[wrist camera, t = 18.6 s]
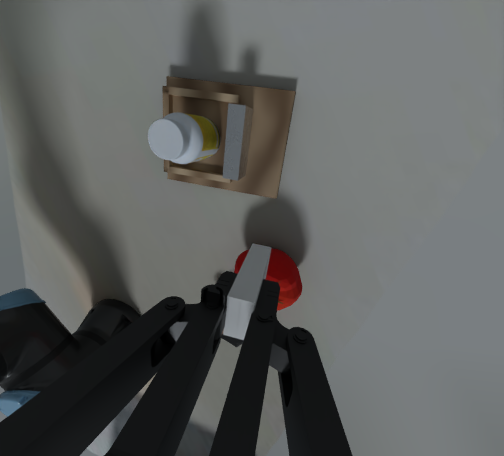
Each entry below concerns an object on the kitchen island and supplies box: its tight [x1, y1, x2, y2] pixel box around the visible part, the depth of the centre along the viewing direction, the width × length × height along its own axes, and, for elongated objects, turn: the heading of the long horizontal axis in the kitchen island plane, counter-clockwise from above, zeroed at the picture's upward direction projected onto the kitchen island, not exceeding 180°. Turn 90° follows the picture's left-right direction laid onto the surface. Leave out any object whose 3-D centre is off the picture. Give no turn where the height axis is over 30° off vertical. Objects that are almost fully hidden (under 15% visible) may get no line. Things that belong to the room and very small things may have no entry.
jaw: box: [222, 103, 253, 181], centre depth 35 cm, size 2×10×5 cm, turn 173°
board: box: [163, 76, 296, 199], centre depth 38 cm, size 20×16×3 cm
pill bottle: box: [148, 112, 221, 164], centre depth 33 cm, size 6×6×12 cm
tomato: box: [234, 248, 302, 310], centre depth 42 cm, size 11×13×10 cm
